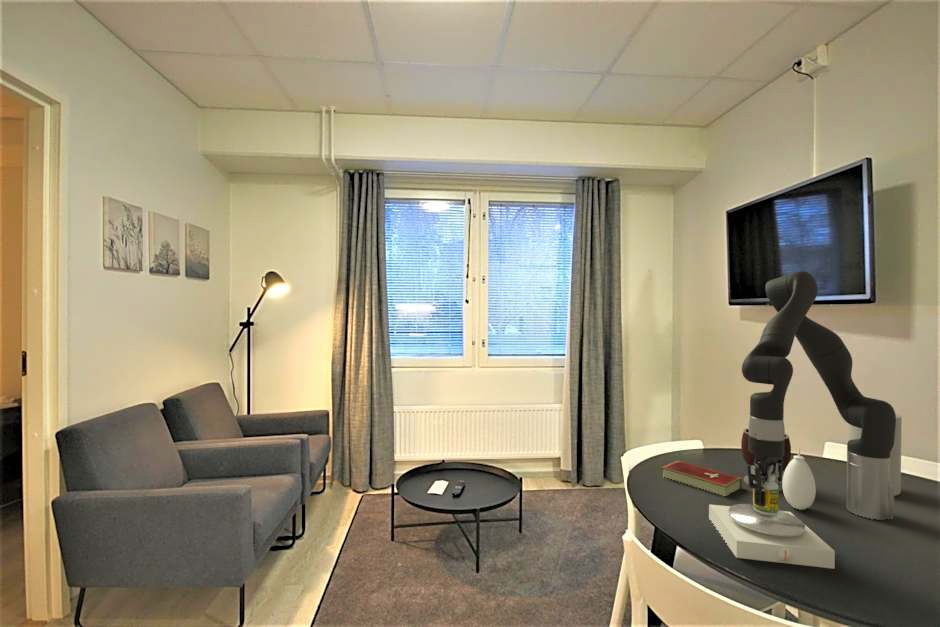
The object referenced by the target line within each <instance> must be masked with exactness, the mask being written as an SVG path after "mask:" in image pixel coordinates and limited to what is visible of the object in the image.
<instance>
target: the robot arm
mask: <svg viewBox="0 0 940 627" xmlns="http://www.w3.org/2000/svg"><path fill="white" fill-rule="evenodd" d="M764 290H765V295H766V297H767V299H768V301H769V303H771V305H772V307H773V308H774V310H775V311H776V312H777V313H776V314H775V315H774V316H772V318H771V319H770V320H768V322H767V323H766V325H765V326H764V328H763V330H762V333H761V336H760V340H759V341H758V343H757V344H756V345H755V346H754V348H753V349H752V350H751V351H750V352H749V353H748V354H747V355H746V357H745V358H744V359H743V362H742V364H741V373H742V375H743V376H742V377H743V378H744V379H745V380H746V381H748V382H749V383H752V384H753V383H754V384H755V383H756V384H765V385H770V386H771V385H772V386H773V387H772V389H771V391H762V392H761V391H760V392H755V393H753V394H751V396H750V398H749V399H750V400H749V421H748V422H749V423H748V428H749V446H748V449H749V451H750V452H751V453H753V454H754V455H755V460H754V465H748V464H747V476H748V479H749V484H748V487H749V489H752V490H753V489H755V492H754V503H755V504H756V505H759V506H762V507H763V506H765V496H766V491H765V490H766V485H767V483H769V481H770V476H771V474H773V473H774V474H775V481H774V482H776V483H777V484H779V483H778V481H779V482H781V481H783V472H784V471H783V461H784V460H783V458H782V457H783V456H784V439H785V434H786V433H785V432H786V431H785V424H784V423H785V421H784V414H785V413H784V409H785V406H784V404H785V398H786V394H787V391H788V388H789V386H790V383H791V380H792V377H793V374H794V367H793V366H794V365H793V364H792V362H791V361H790V360H789V359H788V358H787V357H788V356H789V355H790V353H791V351H792V348H793V344H794V340H795V337H796V340H797V341H798V343H799V345H800V346H801V348H802V349H803V352H804V353H805V355H806V356H807V358H808V359H809V361H810V363H811V364H812V366H813V367H814V369H815V370H816V372H817V374H818V375H819V376H820V378H821V381H822V382H823V383H824V384H825V386H826V388H827V390H828V391H829V393H830V396H831V397H832V399H833V402H834V404H835V407H836V409H837V410H838V412H839V415H840V417H841V418H842V419H843V420H844V421H845V422H846V423H847V424H848V425H849V426H850V425H852V426H855V427H858V428H861V429H862V433H861V438H860V439H854V440H848V441H847V444H846V446H847V447H846V510H847V511H848V512H849V513H852V514H853V513H854V515H855V516H858V515H859V517H861V516H862V517H861V518H865V517H866V518H865V519H869V518H870V519H869V520H874V519H876V521H886V520H885V519H888V518H893V519H894V518H895V517H894V514H895V513H894V509H895V508H894V505H895V500H894V498H895V496H894V486H893V485H892V484H890V452H891V450H892V448H893V446H894V439H895V427H896V415H895V414H896V411H895V409H894V407H893V406H892V404H891V403H889V402H887V401H884V400H880V399H876V398H872V397H867V396H864V395H863V394H862V393H861V391H860V390H859V389H858V387H857V386H856V384H855V382H854V381H853V378H852V371H853V357H852V355H851V353H850V351H849V350H848V348H847V346H846V345H845V343H844V342H843V340H842V338H841V336H839V335H838V333H835V332H834V331H833V330H831V329H829V328H828V327H826V326H824V325H821V324H820V323H818V322H816V321H815V320H812V319H810V318H809V317H808V316H807V314H808V313H809V311H810V309H811V307H812V306H813V304H814V303H815V301H816V299H817V296H818V290H819V288H818V283H817V281H816V279H815V278H814V276H813V275H812V274H811V273H809V272H808V271H806V270H805V271H803V270H801V271H796V272H792V273H790V274H786V275H782V276H779V277H777V278H773V279H770V280H768V281H767V282H766V283H765V288H764ZM782 471H783V472H782ZM761 476H764V477H765V478H761ZM753 480H754V482H753ZM888 520H889V519H888Z"/></svg>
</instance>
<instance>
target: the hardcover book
mask: <svg viewBox="0 0 940 627" xmlns="http://www.w3.org/2000/svg"><path fill="white" fill-rule="evenodd" d="M661 469H662V478H664V477H666V478H665V479H667V478H669V479H668V480H670V479H672V480H671V481H673V480H676V481H679V482H678V483H680V482H682V483H681V484H683V483H685V484H684V485H686V484H688V485H687V486H689V485H692V486H694V487H693V488H695V487H698V488H697V489H699V488H701V489H700V490H702V489H704V490H703V491H705V490H707V491H706V492H708V491H710V492H709V493H711V492H713V493H712V494H714V493H716V494H715V495H718V494H719V495H718V496H721V495H722V496H721V497H724V496H726V497H727V496H729V495H730V493H731V494H732V492H733V493H735V492H736V491H738V490H740V489H741V490H742V487H743V481H742V477H738V476H735V475H732V474H728V473H724V472H721V471H717V470H715V469H714V470H713V469H710V468H706V467H702V466H699V465H696V464H692V463H687V462H684V461H681V460H676V461H673V462H671V463H669V464H666V465H664V466H661ZM676 481H675V482H676ZM692 486H691V487H692Z"/></svg>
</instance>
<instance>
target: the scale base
mask: <svg viewBox="0 0 940 627" xmlns="http://www.w3.org/2000/svg"><path fill="white" fill-rule="evenodd" d="M708 505H709V506H708V520H709V521H710V520H711V521H712V522H711V521H710V522H711V524H712V523H713V524H714V525H713V524H712V525H713V527H714V526H715V527H716V528H715V527H714V528H715V529H716V530H718V531H719V532H718V531H717V532H718V534H719V533H720V534H721V535H720V534H719V535H720V537H721V538H722V537H723V538H722V539H723V541H724V540H725V541H724V542H725V543H727V544H726V545H727V546H728V548H729V549H730V551H731V552H732V554H733V555H734V556H735V558H737V559H745V560H753V561H764V562H771V563H780V564H781V563H782V564H789V565H799V566H807V567H813V568H814V567H817V568H824V569H834V570H835V563H836V561H835V560H836V558H835V557H836V552H835V550H834V549H833V548H832V547H831V546H830V545H829V544H828V543H826V542H825V540H823V539H822V538H820V537H819V536H818V534H816V533H815V532H814V531H813V530H812V529H810V528H809V527H808V526H807V525H806V524H804V525H805V533H804V534H803V535H800V536H796V537H780V536H773V535H768V534H763V533H760V532H756V531H753V530H751V529H748V528H746V527H744V526H741V525H740V524H738V523H736V522H735V521H734V520H732V519H731V518H730V516H729V508H730V507H731V506H732V505H720V504H718V505H717V504H710V503H709V504H708ZM783 511H784V512H786V513H789V514H791V515H793V516H795V517H796V518H798V517H797V516H796V515H794V514H793V513H792V512H791V511H785V510H783Z"/></svg>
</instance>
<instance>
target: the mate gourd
mask: <svg viewBox="0 0 940 627" xmlns="http://www.w3.org/2000/svg"><path fill="white" fill-rule="evenodd" d="M748 446H749V427H748V428H744V429H743V433H742V436H741V445H740V447H741V454H742V458H743V461H745V463H746V464H747V466H748V465H754V460H755V455H754V454H753V453H751V452H750V451H749V449H748ZM791 457H792V446H791V440H790V435H789V434H787V433H785V439H784V456H783V457H782V458H783V460H784V461H783V471H782V473H784V472H785V469H786V467H787V466H788V464H789V463H790V461H791ZM753 481H754V480H753ZM782 481H783V480H782ZM782 481H781V482H779V481H778V483H779V484H778V487H779V492H782V491H781V490H783V487H782ZM743 482H745V484H747V485H749V479H748V475H744V477H743Z"/></svg>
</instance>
